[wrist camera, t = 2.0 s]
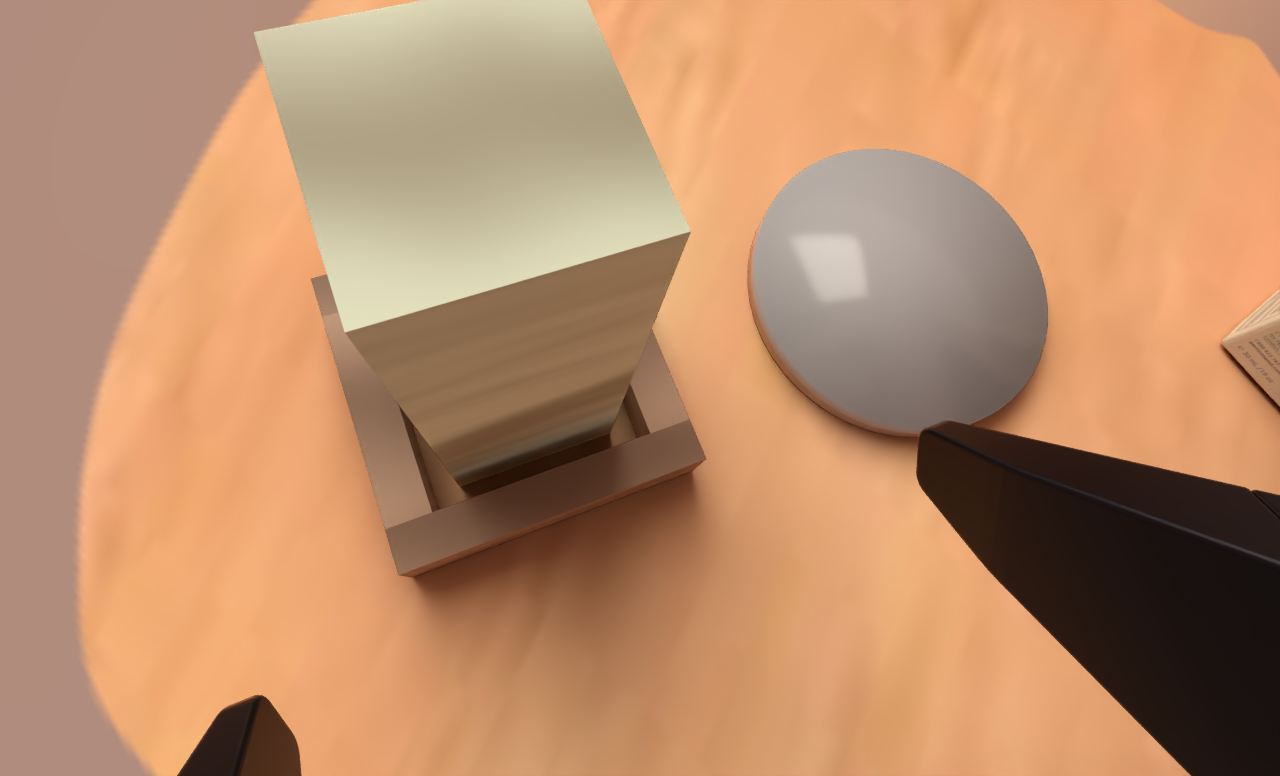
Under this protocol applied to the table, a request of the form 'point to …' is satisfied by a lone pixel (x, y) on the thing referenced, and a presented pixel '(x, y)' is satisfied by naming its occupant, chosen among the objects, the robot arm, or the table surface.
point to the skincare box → (1260, 345)
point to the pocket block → (517, 507)
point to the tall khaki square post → (481, 215)
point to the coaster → (896, 292)
